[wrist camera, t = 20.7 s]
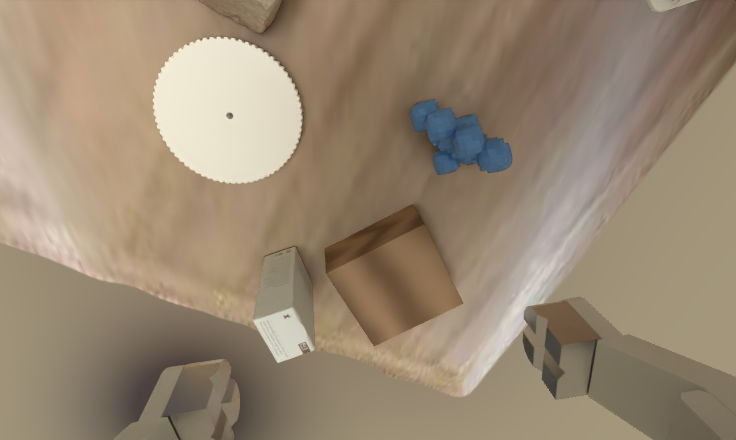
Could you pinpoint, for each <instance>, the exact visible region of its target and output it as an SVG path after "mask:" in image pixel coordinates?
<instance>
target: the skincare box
mask: <svg viewBox="0 0 736 440" xmlns="http://www.w3.org/2000/svg"><path fill="white" fill-rule="evenodd" d="M253 322H254V324H255V326H256V327H257V329H258V331H259V332H260V334H261V336H262V337H263V339H264V340H265V342H266V344H267V346H268V347H269V349H270V351H271V352H272V354H273V356H274V357H275V359H276V361H277V362H278V363H279V362H282V361H285V360H288V359H291V358H293V357H296V356H299V355H302V354H304V353H307V352H310V351H313V350H315V334H314V311H313V288H312V282H311V279H310V277H309V275H308V273H307V271H306V268H305V266H304V264H303V262H302V260H301V257H300V255H299V253H298V251H297V249H296V247H292V248H289V249H286V250H283V251H280V252H277V253H274V254H271V255H268V256H266V257H265V258H264V262H263V267H262V273H261V278H260V283H259V289H258V294H257V299H256V305H255V311H254V316H253Z"/></svg>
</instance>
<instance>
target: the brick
mask: <svg viewBox="0 0 736 440" xmlns="http://www.w3.org/2000/svg"><path fill="white" fill-rule="evenodd" d="M200 1H201V2H203V3H204V4H206V5H208V6H209V7H211V8H213V9H214V10H216V11H217V12H218V13H221V14H223V15H226V16H228V17H231V18H232V19H233V20H234V21H235V22H238V23H240V24H243V25H245V26H246V27H248V28H249V29H250V30H252V31H255V32H257V33H263V32H264V30H265V29H266V28H267V27H268V26H269V25H270V24H271V23H272V22H273V20H274V18H275V16H276V14H277V12H278V9H279V7H280V4H281V1H282V0H200Z"/></svg>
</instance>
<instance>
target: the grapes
mask: <svg viewBox="0 0 736 440" xmlns="http://www.w3.org/2000/svg"><path fill="white" fill-rule="evenodd" d="M410 115H411V120H412V123H413V126H414V129H415V131H416V132H424V131H426V132H427V135H428V137H429V140H430V142H432V144H433V146H436V145H437V146H438V148H439V149H438V150H437V151H436V152H435V153H434V154H433V164H434V167H435V170H436V172H437V175H441V174H447V173H451V172H455V171H456V170H457V169H458V168H459V167H460V162H462V163H463V164H466V163H467V165H470V164H474V163H478V166H479V167H480V169H481V171H485V170H487V171H488V173H493V172H499V171H503V170H506V169H507V168H509V167H510V166H511V164H512V160H513V159H512V153H511V149H510V146H509V144H508V143H504V140H503V138H500V139H497V137H496V138H489V139H488V138H487V135H484V134H483V132H482V129H481V126H480V124H479V123H478V120H477V117H476V114H472V115H466V116H462V117H459V118H457V119H455V116H454V113H453V111H452V108H445V109H439V106H438V103H437V102H436V101H435V99H433V100H427V101H422V102H419V103H417V104H415V105H414V106H413V107H412V109H411V114H410Z"/></svg>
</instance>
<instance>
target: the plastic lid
mask: <svg viewBox="0 0 736 440" xmlns="http://www.w3.org/2000/svg"><path fill="white" fill-rule="evenodd" d="M178 51H179V52H174V53H173V55H174V56H173V57H169V58H168V59H169V61H168V62H165V63H164V64H165V67H162V68H161V71H162V72H161V73H159V74H158V76H159V79H156V83H157V85H155V86H154V89H155V92H153V95H154V96H155V98H154V99H153V102H154V105H153V109H155V112H154V115H155V116H156V119H155V122H157V123H158V125H157V128H158V129H160V132H159V133H160V135H163V138H162V139H163V141H166V143H167V144H166V145H167V147H170V148H171V149H170V151H171V152H174V153H175V155H174V156H175V157H178V158H179V161H180V162H184V163H185V164H184V165H185V166H189V167H190V169H191V170H195V173H197V174H198V173H200V174H201V176H203V177H204V176H206V177H207V178H208V179H210V178H212V179H213V180H214V181H216V180H219V182H223V181H224V182H225V183H229V182H231V183H232V184H235V183H238V184H241V182H244V184H245V183H247V182H250V183H251V182H253V181H254V180H255V181H258V180H259V179H260V178H261V179H264V177H265V176H266V177H268V176H269V175H270V174H274V172H275V170H276V171H278V170H279V168H280V167H283V165H284V163H286V162H287V160H288V158H289V159H290V157H291V154H293V153H294V149H296V147H297V143H298V142H299V138H300V135H301V130H302V126H301V125H302V123H303V120H301V119H302V118H303V114H301V113H302V108H301V104H302V103H301V101H299V100H300V95H298V94H297V93H298V90H297V89H295V86H296V85H295V83H293V82H292V77H289V76H288V74H289V73H288V71H285V70H284V69H285V68H284V66H281V65H280V62H279V61H276V60H275V57H274V56H270V55H269V54H270V53H268V52H264V49H262V48H258V46H257V45H251V43H250V42H245V41H244V40H238V39H236V38H230V37H210V38H203V40H200V39H198V40H196V42H190V45H184V48H179V49H178ZM231 113H232V114H233V115H232V114H231Z"/></svg>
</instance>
